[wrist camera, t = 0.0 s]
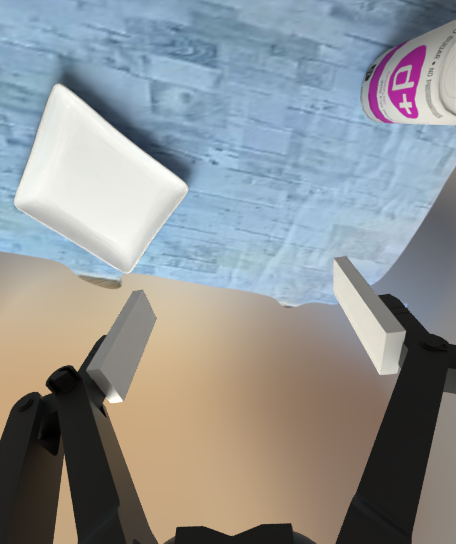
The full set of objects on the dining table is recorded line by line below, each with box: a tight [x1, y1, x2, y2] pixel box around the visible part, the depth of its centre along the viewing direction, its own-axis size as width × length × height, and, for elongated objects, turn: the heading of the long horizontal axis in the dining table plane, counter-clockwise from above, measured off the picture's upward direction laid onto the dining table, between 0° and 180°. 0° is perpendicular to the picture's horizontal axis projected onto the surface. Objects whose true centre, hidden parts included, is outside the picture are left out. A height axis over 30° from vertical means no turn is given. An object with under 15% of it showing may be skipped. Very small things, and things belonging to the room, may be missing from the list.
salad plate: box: [14, 83, 189, 273], centre depth 41 cm, size 21×21×3 cm
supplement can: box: [360, 20, 456, 125], centre depth 27 cm, size 8×8×15 cm
